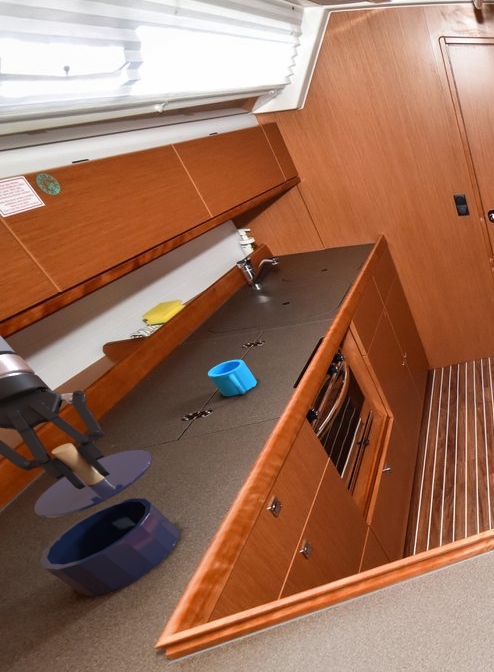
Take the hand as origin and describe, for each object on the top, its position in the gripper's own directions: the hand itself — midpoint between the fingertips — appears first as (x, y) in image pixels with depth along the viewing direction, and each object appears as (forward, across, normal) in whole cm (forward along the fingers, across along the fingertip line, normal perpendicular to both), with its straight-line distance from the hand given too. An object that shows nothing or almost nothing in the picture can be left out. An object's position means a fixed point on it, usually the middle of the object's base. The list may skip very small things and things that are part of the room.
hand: (92, 480), depth 76 cm
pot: (+15, -4, +11) cm, 19 cm away
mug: (-16, +30, +41) cm, 53 cm away
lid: (-1, 0, +5) cm, 5 cm away
